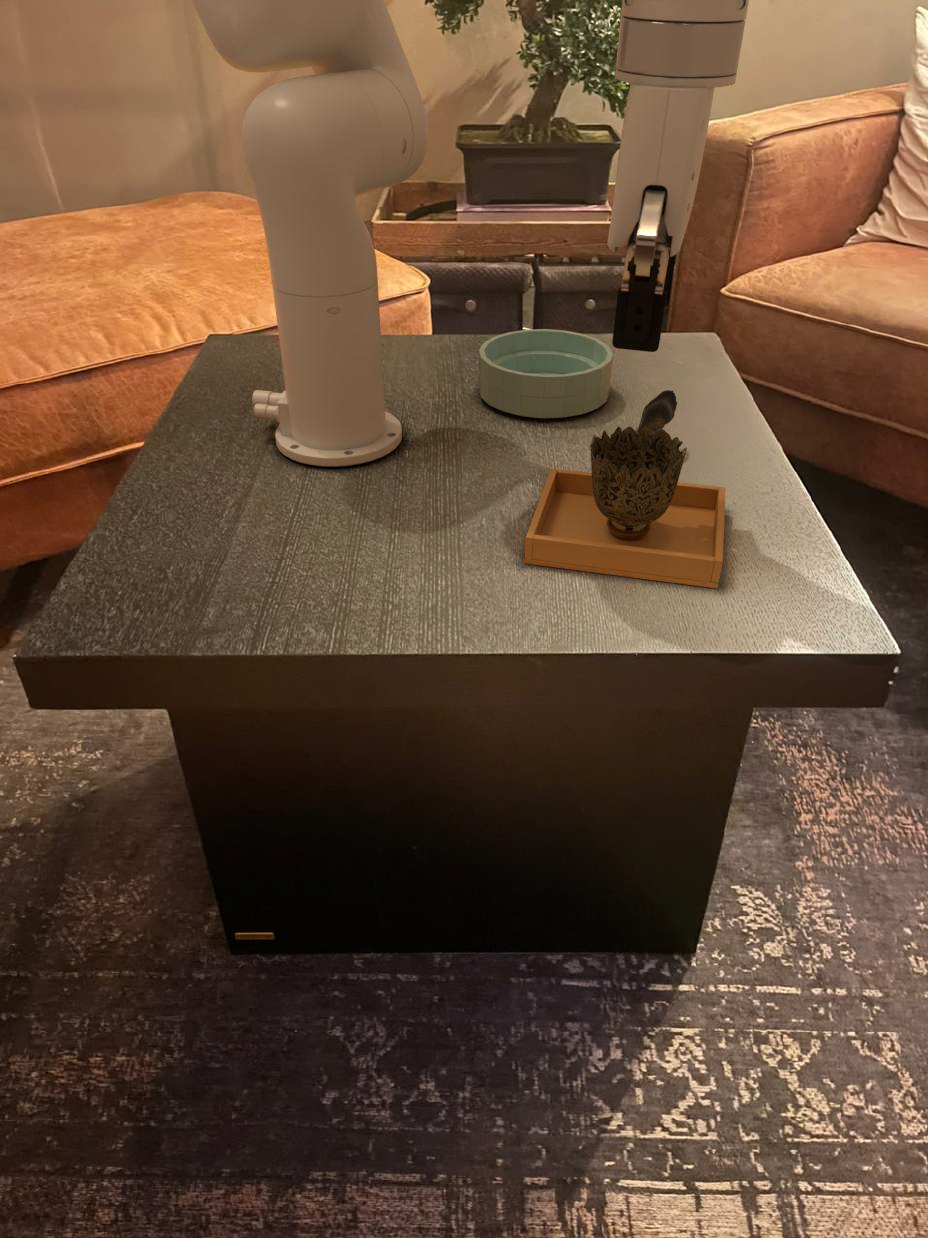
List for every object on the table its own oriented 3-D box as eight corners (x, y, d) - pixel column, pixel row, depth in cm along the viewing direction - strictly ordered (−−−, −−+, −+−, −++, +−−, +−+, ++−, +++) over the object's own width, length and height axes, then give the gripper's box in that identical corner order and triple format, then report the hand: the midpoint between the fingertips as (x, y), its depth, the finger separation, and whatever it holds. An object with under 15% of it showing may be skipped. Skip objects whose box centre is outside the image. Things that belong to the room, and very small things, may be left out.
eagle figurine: (701, 474, 84) (692, 417, 90) (667, 417, 80) (660, 361, 86) (625, 507, 87) (622, 449, 93) (589, 454, 83) (588, 398, 89)
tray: (524, 563, 74) (525, 536, 72) (549, 492, 83) (551, 467, 82) (717, 588, 71) (723, 561, 69) (720, 512, 80) (725, 487, 79)
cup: (575, 512, 80) (582, 426, 75) (658, 507, 80) (670, 422, 75) (594, 558, 74) (603, 468, 69) (684, 552, 74) (698, 463, 69)
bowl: (465, 415, 97) (465, 369, 94) (494, 366, 108) (495, 324, 105) (599, 428, 94) (603, 381, 92) (615, 377, 106) (619, 334, 103)
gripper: (631, 38, 65) (605, 285, 75) (600, 66, 51) (573, 362, 62) (741, 43, 63) (698, 294, 74) (737, 73, 50) (686, 375, 60)
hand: (641, 325), depth 68 cm, fingers open, 9 cm apart
